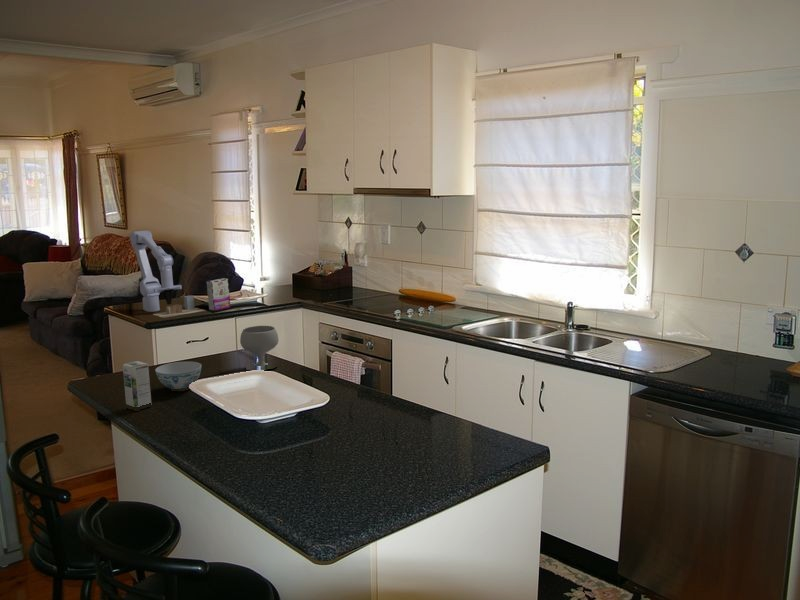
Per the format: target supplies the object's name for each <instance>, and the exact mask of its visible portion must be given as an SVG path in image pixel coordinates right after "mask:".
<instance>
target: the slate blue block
mask: <svg viewBox="0 0 800 600" xmlns="http://www.w3.org/2000/svg"><path fill="white" fill-rule="evenodd" d="M182 297H183V307H184V308H183V309H186V310H191V309H195V308H196V307H195V297H194V295H184V296H182Z"/></svg>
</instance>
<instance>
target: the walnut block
mask: <svg viewBox="0 0 800 600" xmlns="http://www.w3.org/2000/svg"><path fill="white" fill-rule="evenodd" d="M182 309H183V305H182V304H179V303H176V304H169V305H166V306H165V312H166V313H167V314H176V313H182Z"/></svg>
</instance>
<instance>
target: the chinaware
mask: <svg viewBox="0 0 800 600" xmlns="http://www.w3.org/2000/svg"><path fill="white" fill-rule="evenodd" d="M154 370H155V374H156V376H157V378H158V380H159V382H160V383H161V384H162V385H163V386H165V387H166V388H168V389H170V388H171V389H181V388H187V387H188V385H189V384H191V383H192V382H195V381H196V382H197V380H198V379H199V377H200V375H201V372H202V363H200V362H197V361H177V362H176V361H175V362H171V363H166V364H163V365H160V366H157V367H156V368H155V369H154ZM196 382H195V383H196Z"/></svg>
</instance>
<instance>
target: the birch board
mask: <svg viewBox="0 0 800 600" xmlns="http://www.w3.org/2000/svg"><path fill="white" fill-rule="evenodd" d="M206 311H207V310H206V309H203V308H202V309H201V308H198V307H195V309H191V310H186V309H184V308H182V313H176V314H167V313H166V311H163V312H157V313H156V312H155V313H152V315H153V316H157V317H160V318H163V319H164V318H169V317H170V318H171V317H177V316H182V315H188V314H189V315H190V314H195V313H201V312H206Z"/></svg>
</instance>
